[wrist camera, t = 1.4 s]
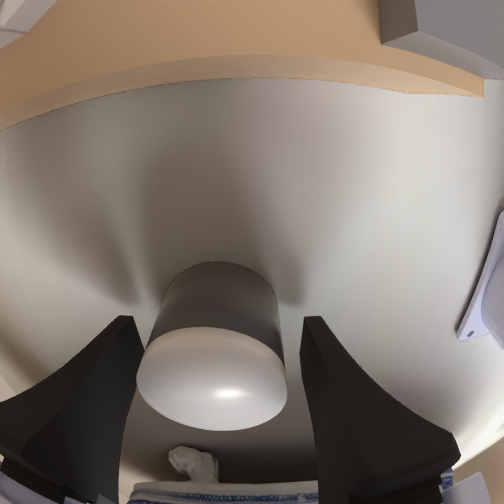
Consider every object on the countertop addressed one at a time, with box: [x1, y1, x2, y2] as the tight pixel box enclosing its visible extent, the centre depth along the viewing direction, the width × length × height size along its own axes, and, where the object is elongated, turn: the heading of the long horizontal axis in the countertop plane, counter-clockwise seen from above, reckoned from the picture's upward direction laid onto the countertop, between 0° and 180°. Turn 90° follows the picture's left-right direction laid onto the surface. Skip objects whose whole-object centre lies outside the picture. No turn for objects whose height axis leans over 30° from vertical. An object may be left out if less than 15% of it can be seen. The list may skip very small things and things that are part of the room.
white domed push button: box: [136, 262, 287, 431], centre depth 10 cm, size 5×5×4 cm
